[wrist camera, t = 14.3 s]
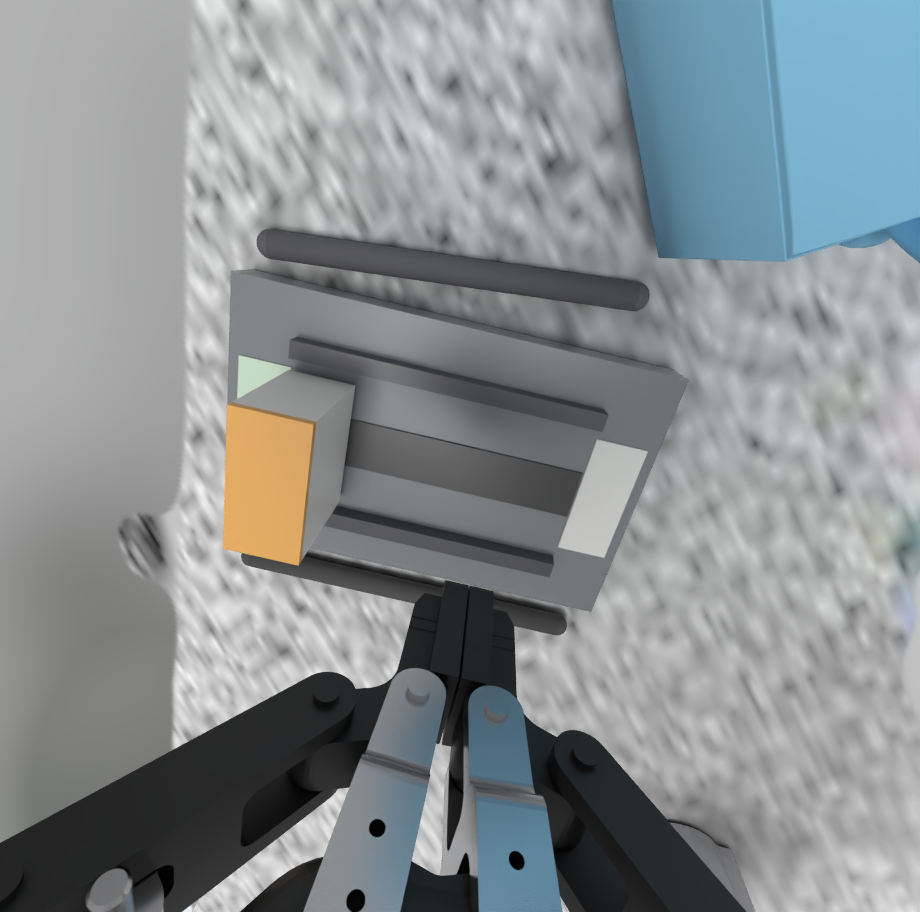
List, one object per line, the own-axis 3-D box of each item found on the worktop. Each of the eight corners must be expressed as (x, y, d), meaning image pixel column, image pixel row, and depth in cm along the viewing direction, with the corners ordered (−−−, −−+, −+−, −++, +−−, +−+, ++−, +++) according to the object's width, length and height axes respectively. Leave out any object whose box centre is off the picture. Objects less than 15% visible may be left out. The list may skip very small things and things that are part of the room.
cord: (648, 283, 21) (656, 284, 20) (640, 311, 22) (648, 314, 21) (263, 227, 21) (251, 226, 20) (264, 257, 22) (252, 257, 21)
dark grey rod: (567, 611, 28) (570, 626, 27) (561, 627, 29) (564, 642, 28) (248, 539, 28) (237, 550, 27) (247, 555, 28) (236, 567, 27)
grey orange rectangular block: (355, 385, 21) (313, 424, 16) (339, 501, 24) (298, 565, 19) (289, 369, 21) (227, 404, 16) (279, 487, 24) (223, 548, 19)
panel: (673, 369, 23) (695, 384, 20) (584, 587, 28) (593, 622, 25) (253, 269, 22) (221, 271, 20) (242, 509, 27) (215, 536, 25)
